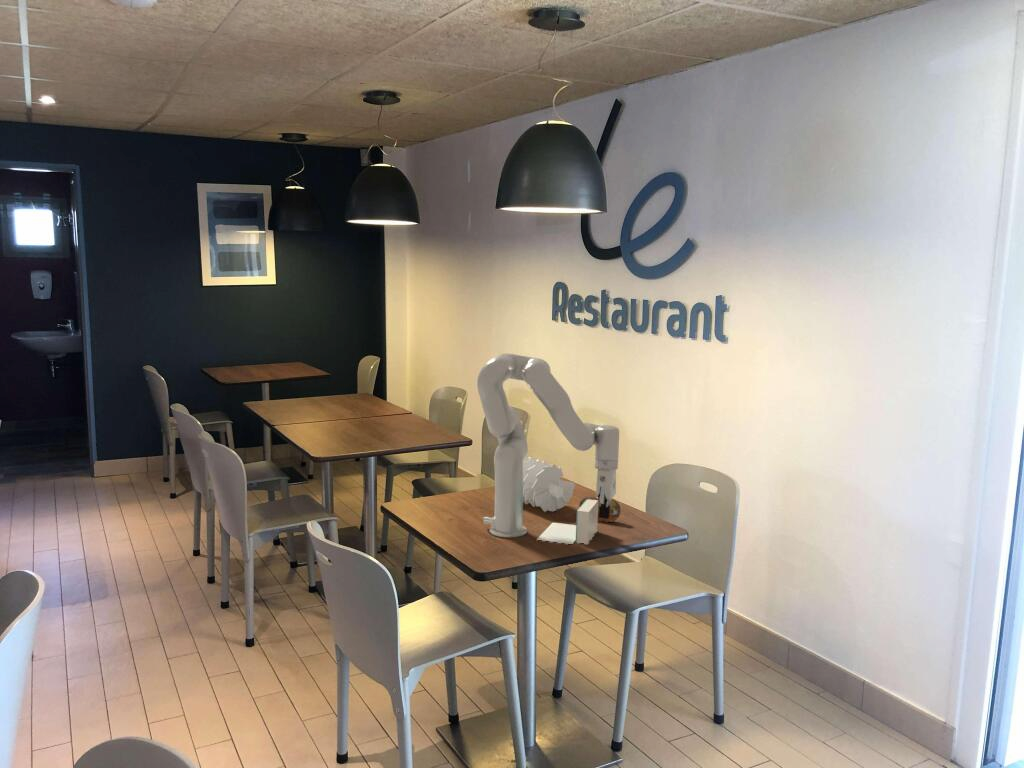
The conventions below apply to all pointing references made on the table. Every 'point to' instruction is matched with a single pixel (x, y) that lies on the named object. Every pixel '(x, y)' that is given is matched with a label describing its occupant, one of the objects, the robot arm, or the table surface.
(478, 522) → the table surface
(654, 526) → the table surface
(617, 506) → the tin
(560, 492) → the spiral staircase
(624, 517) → the table surface
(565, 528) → the mat
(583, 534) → the tile
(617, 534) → the table surface
